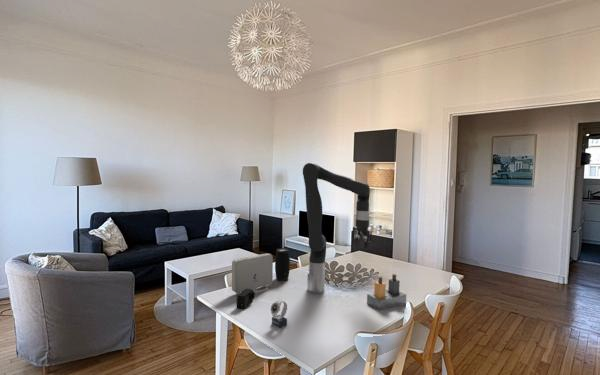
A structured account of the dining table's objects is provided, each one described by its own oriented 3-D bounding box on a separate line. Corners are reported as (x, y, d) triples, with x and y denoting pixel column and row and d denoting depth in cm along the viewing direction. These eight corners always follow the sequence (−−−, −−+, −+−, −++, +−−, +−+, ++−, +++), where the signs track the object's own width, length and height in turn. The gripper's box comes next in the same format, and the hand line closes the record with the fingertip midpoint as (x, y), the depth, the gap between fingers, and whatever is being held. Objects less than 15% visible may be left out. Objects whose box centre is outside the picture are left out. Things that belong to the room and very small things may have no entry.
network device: (237, 298, 181) (237, 262, 180) (229, 293, 187) (229, 258, 186) (274, 287, 198) (275, 254, 196) (266, 283, 204) (266, 251, 203)
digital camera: (246, 310, 166) (246, 296, 166) (236, 308, 168) (236, 295, 167) (254, 302, 176) (254, 289, 175) (245, 300, 177) (245, 288, 177)
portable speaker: (289, 281, 209) (290, 251, 208) (274, 281, 208) (275, 251, 207) (289, 276, 217) (289, 247, 216) (274, 277, 217) (275, 247, 215)
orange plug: (379, 303, 172) (380, 279, 172) (374, 300, 176) (374, 276, 175) (385, 302, 174) (385, 278, 173) (379, 299, 178) (380, 275, 177)
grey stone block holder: (379, 310, 169) (380, 300, 168) (367, 303, 177) (367, 293, 177) (406, 303, 178) (406, 294, 177) (392, 297, 186) (392, 288, 186)
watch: (268, 325, 150) (268, 301, 150) (281, 319, 156) (282, 297, 155) (276, 329, 146) (276, 305, 146) (289, 324, 152) (290, 300, 151)
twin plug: (393, 300, 177) (394, 276, 176) (388, 297, 181) (388, 274, 180) (398, 298, 179) (399, 275, 178) (393, 296, 183) (394, 273, 182)
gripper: (349, 217, 190) (348, 244, 191) (365, 220, 177) (364, 250, 178) (359, 216, 193) (358, 243, 194) (376, 220, 181) (375, 249, 182)
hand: (361, 246), depth 186 cm, fingers open, 8 cm apart
